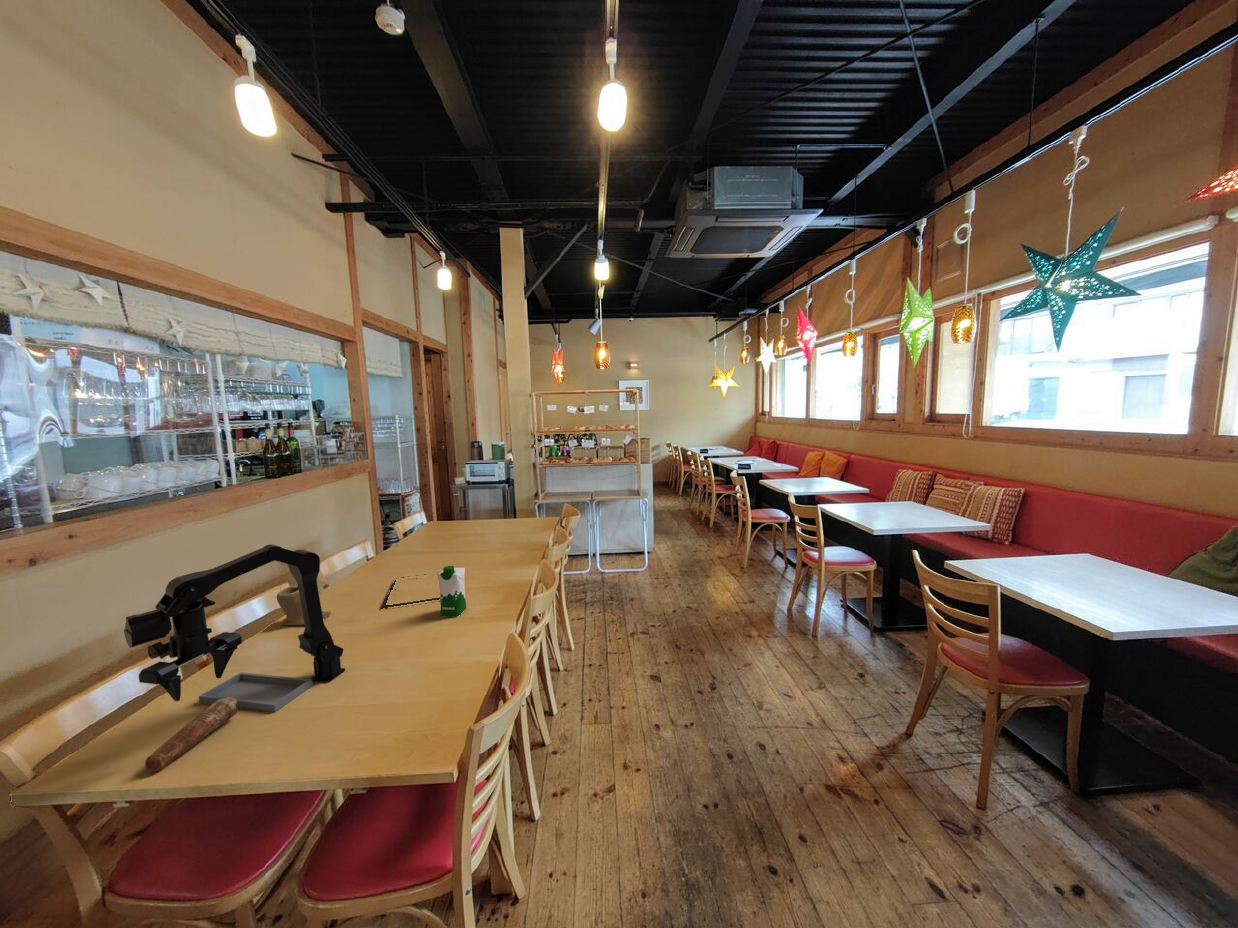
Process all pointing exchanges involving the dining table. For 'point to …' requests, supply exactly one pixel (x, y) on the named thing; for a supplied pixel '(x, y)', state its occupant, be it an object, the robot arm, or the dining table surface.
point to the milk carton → (452, 591)
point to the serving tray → (258, 691)
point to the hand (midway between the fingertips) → (198, 688)
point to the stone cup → (293, 606)
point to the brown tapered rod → (192, 733)
